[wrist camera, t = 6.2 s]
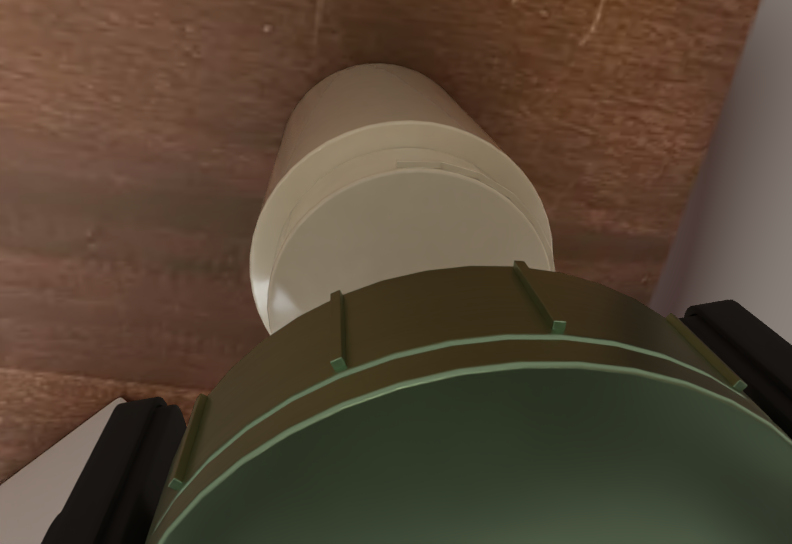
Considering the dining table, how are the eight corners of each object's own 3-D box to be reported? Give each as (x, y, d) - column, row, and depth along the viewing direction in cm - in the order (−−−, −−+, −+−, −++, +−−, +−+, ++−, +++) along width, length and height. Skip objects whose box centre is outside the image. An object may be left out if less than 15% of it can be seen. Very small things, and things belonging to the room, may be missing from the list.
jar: (464, 251, 24) (556, 441, 14) (283, 251, 23) (249, 451, 13) (479, 65, 21) (604, 142, 11) (276, 60, 20) (227, 137, 11)
